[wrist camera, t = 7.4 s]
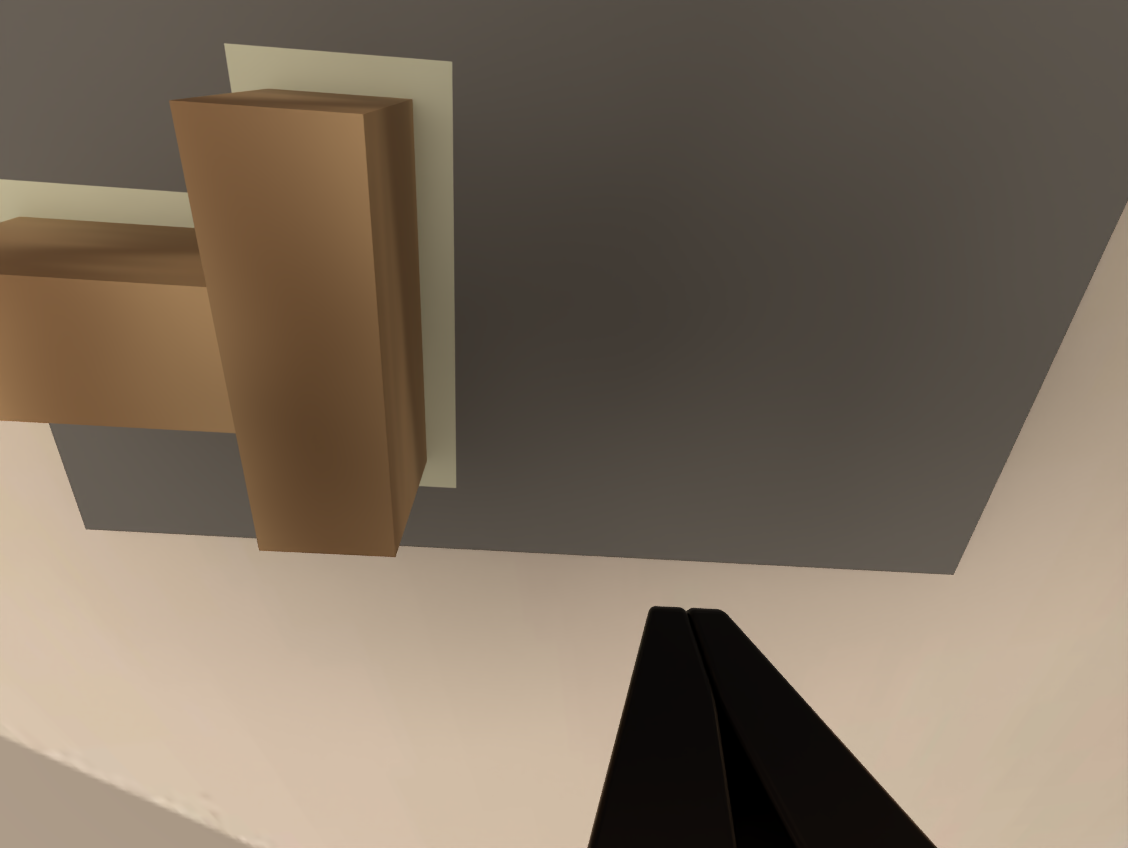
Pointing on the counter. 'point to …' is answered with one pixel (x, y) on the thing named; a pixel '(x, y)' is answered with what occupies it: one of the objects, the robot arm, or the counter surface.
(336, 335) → the t block
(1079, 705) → the counter surface
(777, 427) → the mat
